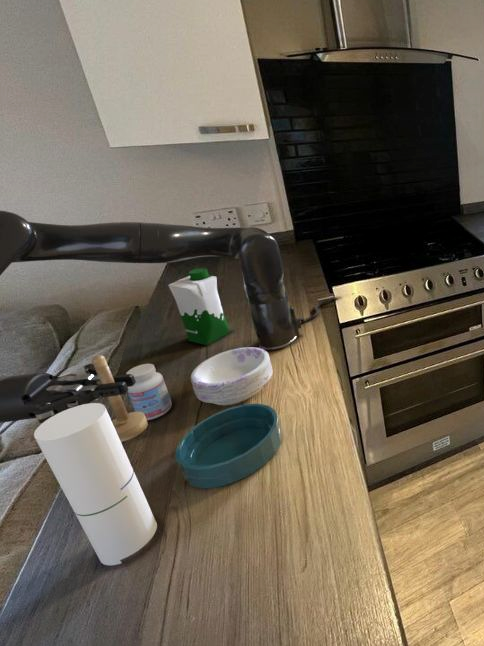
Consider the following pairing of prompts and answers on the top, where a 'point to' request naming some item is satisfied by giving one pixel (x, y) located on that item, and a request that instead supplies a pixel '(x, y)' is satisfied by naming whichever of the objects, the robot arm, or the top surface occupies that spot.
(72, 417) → the cylindrical container
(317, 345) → the top surface
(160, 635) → the top surface
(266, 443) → the bowl
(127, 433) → the wooden peg on disc
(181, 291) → the milk carton
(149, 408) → the pill bottle
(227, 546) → the top surface
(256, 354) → the paper bowls
